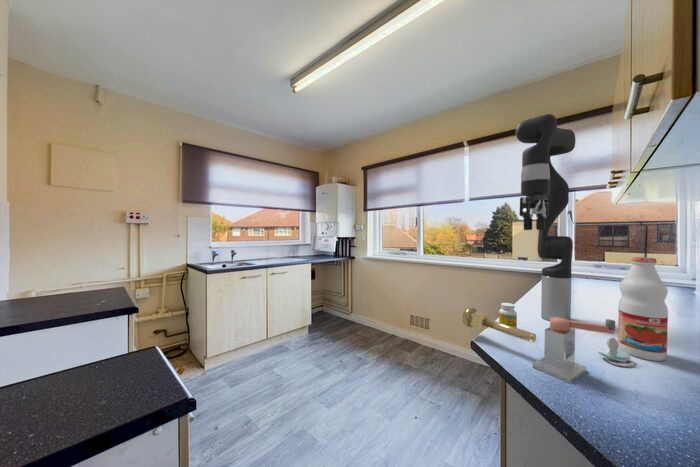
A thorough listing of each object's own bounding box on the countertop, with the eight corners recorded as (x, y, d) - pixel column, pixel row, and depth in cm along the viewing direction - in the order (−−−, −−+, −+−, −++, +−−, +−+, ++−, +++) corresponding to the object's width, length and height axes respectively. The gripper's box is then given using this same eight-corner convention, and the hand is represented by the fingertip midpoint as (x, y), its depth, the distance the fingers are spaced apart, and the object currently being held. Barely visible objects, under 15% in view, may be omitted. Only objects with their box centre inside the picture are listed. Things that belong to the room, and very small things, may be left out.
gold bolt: (473, 323, 90) (473, 305, 90) (539, 346, 73) (539, 324, 73) (462, 327, 87) (462, 309, 87) (528, 352, 70) (528, 329, 70)
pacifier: (641, 367, 67) (614, 355, 73) (643, 344, 67) (616, 334, 73) (619, 370, 66) (593, 357, 72) (620, 346, 66) (595, 336, 72)
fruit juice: (653, 349, 77) (655, 256, 76) (676, 365, 68) (679, 260, 67) (611, 343, 81) (613, 255, 80) (628, 357, 72) (630, 258, 71)
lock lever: (611, 333, 63) (611, 318, 63) (618, 340, 59) (618, 323, 59) (548, 324, 69) (549, 310, 69) (551, 329, 65) (551, 315, 65)
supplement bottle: (508, 327, 94) (509, 301, 94) (520, 333, 88) (520, 306, 88) (495, 328, 93) (495, 302, 93) (506, 334, 88) (506, 306, 88)
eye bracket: (549, 357, 72) (550, 320, 72) (586, 370, 66) (587, 330, 65) (532, 367, 67) (533, 328, 67) (570, 383, 60) (571, 339, 60)
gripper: (537, 175, 76) (537, 230, 76) (558, 180, 83) (557, 229, 83) (511, 179, 82) (510, 230, 83) (532, 183, 89) (532, 229, 90)
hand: (534, 229), depth 83 cm, fingers open, 8 cm apart
